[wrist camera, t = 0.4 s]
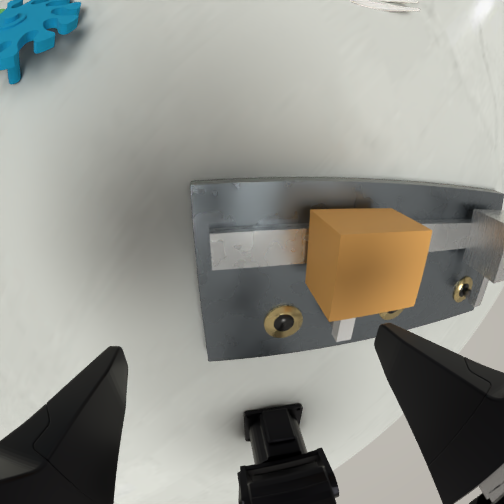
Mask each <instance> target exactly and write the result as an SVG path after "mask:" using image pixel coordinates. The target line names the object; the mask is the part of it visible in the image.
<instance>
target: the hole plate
mask: <svg viewBox="0 0 504 504" xmlns="http://www.w3.org/2000/svg"><path fill="white" fill-rule="evenodd" d="M190 190H191V205H192V218H193V231H194V243H195V253H196V264H197V274H198V283H199V292H200V301H201V309H202V317H203V325H204V333H205V340H206V347H207V354H208V361H221V360H233V359H244V358H253V357H262V356H271V355H278V354H286V353H293V352H300V351H306V350H312V349H319V348H324V347H330V346H336V345H341V344H346V343H351V342H356V341H361V340H366V339H370V338H375V337H376V335H377V331H378V328H379V326H380V325H381V324H385V323H392V324H394V325H396V326H398V327H401V328H403V329H405V330H408V329H412V328H415V327H419V326H423V325H426V324H430V323H433V322H437V321H440V320H444V319H447V318H450V317H453V316H456V315H460V314H463V313H466V312H469V311H472V310H473V309H474V307H476V306H479V305H480V304H481V301H482V299H483V296H484V293H485V290H486V287H487V284H488V281H489V280H490V281H491V282H493V283H496V282H500V281H503V280H504V210H502V204H503V198H504V194H503V193H500V192H497V191H495V190H489V189H482V188H474V187H466V186H457V185H448V184H438V183H427V182H415V181H401V180H385V179H364V178H329V177H278V178H242V179H220V180H203V181H191V185H190ZM361 208H392V209H394V210H396V211H398V212H400V213H402V214H403V215H405V216H407V217H409V218H411V219H413V220H415V221H416V222H418V223H420V224H422V225H424V226H426V227H427V228H429V229H431V230H432V236H431V241H430V245H429V250H428V255H427V259H426V263H425V268H424V272H423V276H422V280H421V283H420V287H419V291H418V294H417V298H416V301H415V304H414V306H413V307H408V308H403V309H399V310H394V311H389V312H384V313H378V314H373V315H368V316H362V317H356V319H355V323H354V328H353V332H352V336H351V339H350V340H345V341H339V342H336V341H335V339H334V337H333V335H332V329H333V328H332V327H331V325H330V323H329V322H328V320H327V318H326V316H325V315H324V313H323V311H322V310H321V308H320V306H319V305H318V303H317V301H316V300H315V298H314V296H313V295H312V293H311V292H310V290H309V288H308V287H307V285H306V283H305V279H306V267H307V253H308V239H309V222H310V209H361Z"/></svg>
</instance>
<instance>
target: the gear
mask: <svg viewBox="0 0 504 504" xmlns="http://www.w3.org/2000/svg"><path fill="white" fill-rule="evenodd" d="M80 6H81V2H74V3H70V0H31V1H29V2H27V3H26V4H24V5H23V0H13V1H10V2H9V3H8V4H7V8H6V10H5V9H0V70H5V69H7V71H8V79H9V83H10V84H15V83H17V82H19V81H20V79H21V74H20V62H19V51H20V49H21V48H22V47H23V46H24V45H25V44H26V43H28V42H30V41H34V53H37V54H38V53H41V52H44V51H46V50H49V49H51V48H53V47H54V45H55V33H54V32H52V31H48V30H47V29H50V28H56V29H57V30H58V33H59V34H62V35H65V34H68V33H70V32H72V31H73V30H74V29H75V28H77V24H78V16H79V12H80Z"/></svg>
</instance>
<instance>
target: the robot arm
mask: <svg viewBox="0 0 504 504" xmlns="http://www.w3.org/2000/svg"><path fill="white" fill-rule="evenodd" d="M374 346H375V349H376V352H377V355H378V357H379V360H380V362H381V365H382V368H383V370H384V373H385V375H386V378H387V380H388V382H389V384H390V386H391V388H392V390H393V392H394V394H395V396H396V398H397V401H398V403H399V405H400V407H401V409H402V411H403V413H404V415H405V417H406V419H407V421H408V423H409V425H410V428H411V430H412V432H413V434H414V436H415V439H416V441H417V443H418V445H419V447H420V449H421V452H422V454H423V456H424V459H425V461H426V463H427V466H428V468H429V471H430V473H431V475H432V478H433V480H434V483H435V485H436V487H437V490H438V492H439V495H440V498H441V500H442V503H443V504H454V503H455V502H457V501H458V500H460V499H461V498H463V497H464V496H466V495H467V494H469V493H470V492H471V491H473V490H474V489H475V488H477V487H478V486H479V488H480V489H481V491H482V494H481V495H480V496H478V497H477V498H475V499H474V500H473V501H471V502H470V503H469V504H504V373H503V372H500V371H497V370H494V369H492V368H489V367H486V366H484V365H481V364H479V363H476V362H474V361H472V360H470V359H468V358H466V357H463V356H461V355H459V354H457V353H455V352H453V351H450V350H448V349H446V348H444V347H442V346H439V345H437V344H435V343H433V342H431V341H429V340H426V339H424V338H422V337H420V336H418V335H416V334H414V333H411V332H409V331H407V330H405V329H403V328H401V327H398V326H396V325H394V324H392V323H385V324H381V325H380V326H379V328H378V331H377V335H376V338H375V342H374ZM127 379H128V364H127V361H126V358H125V355H124V352H123V350H122V348H121V347H120V346H110V347H108V348H107V349H106V350H105V351H103V352H102V353H101V354H100V355H99V356H98V357H97V358H96V359H95V360H93V361H92V362H91V363H90V364H89V365H88V366H87V367H86V368H84V369H83V370H82V371H81V372H80V373H79V374H78V375H77V376H76V377H74V378H73V379H72V380H71V381H70V382H69V383H68V384H67V385H66V386H65V387H63V388H62V389H61V390H60V391H59V392H58V393H57V394H56V395H55V396H54V397H53V398H51V399H50V400H49V401H48V402H47V405H46V404H45V405H44V406H43V407H42V408H41V409H39V410H38V411H37V412H36V413H35V414H34V415H33V416H32V417H30V418H29V419H28V420H27V421H26V422H24V423H23V424H22V425H21V426H19V427H18V428H17V429H15V430H14V431H13V432H11V433H10V434H9V435H8V436H6V437H5V438H4V439H2V440H1V441H0V504H113V503H114V491H115V480H116V471H117V463H118V455H119V447H120V440H121V434H122V427H123V421H124V415H125V409H126V393H127ZM302 409H303V408H302V405H301V404H296V405H290V406H284V407H278V408H271V409H264V410H256V411H248V412H245V413H244V427H245V440H246V441H251V446H252V451H253V456H254V462H255V465H249V466H240V470H241V471H240V472H238V473H237V474H238V481H239V504H336V501H335V498H336V497H338V496H339V489H338V485H337V482H336V478H335V476H334V473H333V471H332V469H331V467H330V464H329V462H328V460H327V458H326V456H325V454H324V451H323V449H322V448H319V449H317V450H314V451H311V452H307V450H306V447H305V443H304V440H303V437H302V434H301V431H300V428H299V424H300V419H301V414H302Z"/></svg>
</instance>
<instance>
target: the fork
mask: <svg viewBox="0 0 504 504" xmlns="http://www.w3.org/2000/svg"><path fill="white" fill-rule="evenodd" d="M349 1H351V2H353V3H355V4H357V5H360V6H365V7H369V8H372V9H377V10H381V11H392V12H400V11H420V9H419V8H411V7H403V6H395V5H389V4H383V3H377V2H372V1H370V0H349ZM378 1H384V2H399V3H418V1H415V0H378Z"/></svg>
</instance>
